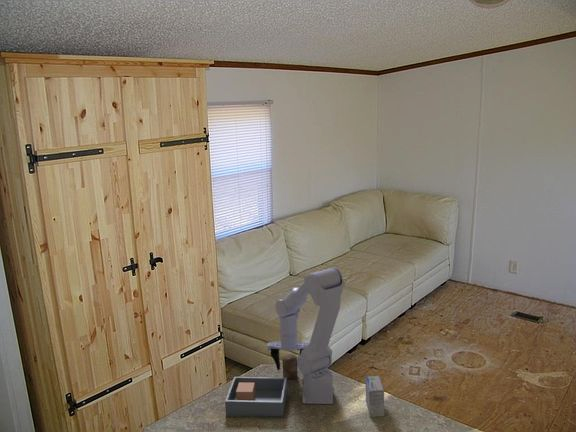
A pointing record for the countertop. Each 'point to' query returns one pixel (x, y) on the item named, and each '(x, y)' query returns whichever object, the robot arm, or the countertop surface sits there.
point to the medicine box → (374, 396)
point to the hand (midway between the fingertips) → (289, 368)
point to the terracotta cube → (245, 391)
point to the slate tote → (258, 398)
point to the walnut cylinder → (289, 367)
